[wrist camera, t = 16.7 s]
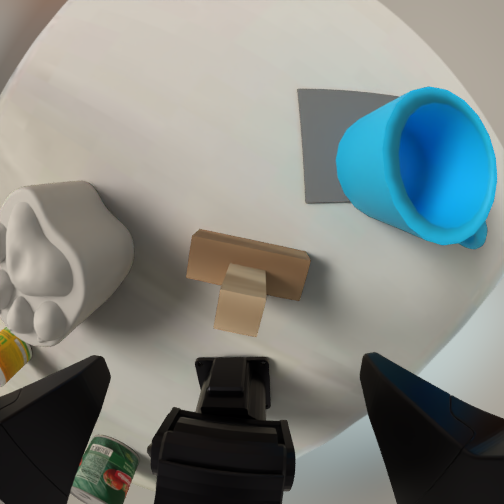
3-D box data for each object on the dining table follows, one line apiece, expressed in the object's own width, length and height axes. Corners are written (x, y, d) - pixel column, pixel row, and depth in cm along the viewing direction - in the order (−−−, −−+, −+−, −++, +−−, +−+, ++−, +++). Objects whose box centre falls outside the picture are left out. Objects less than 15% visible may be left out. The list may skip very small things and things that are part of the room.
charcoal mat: (448, 202, 19) (450, 202, 19) (305, 202, 20) (306, 202, 19) (442, 106, 17) (443, 105, 17) (297, 89, 17) (297, 88, 17)
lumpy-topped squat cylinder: (149, 254, 21) (92, 298, 13) (78, 332, 24) (31, 380, 15) (77, 164, 19) (3, 167, 11) (21, 258, 22) (-35, 285, 13)
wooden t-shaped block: (293, 295, 22) (305, 345, 15) (193, 274, 21) (164, 316, 15) (305, 251, 21) (325, 286, 14) (200, 228, 20) (171, 253, 14)
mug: (313, 170, 19) (347, 165, 11) (375, 94, 17) (430, 58, 9) (416, 269, 20) (473, 311, 12) (465, 198, 18) (531, 213, 11)
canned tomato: (150, 464, 30) (131, 519, 19) (117, 464, 31) (97, 511, 20) (114, 432, 28) (85, 490, 17) (84, 434, 29) (56, 483, 18)
